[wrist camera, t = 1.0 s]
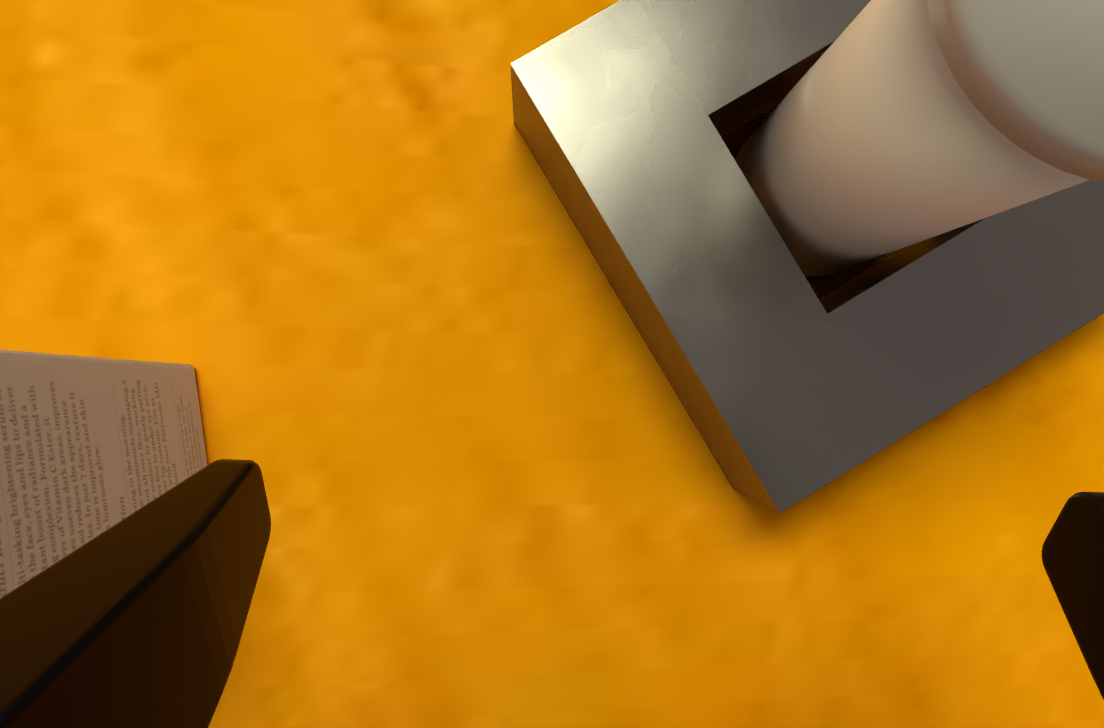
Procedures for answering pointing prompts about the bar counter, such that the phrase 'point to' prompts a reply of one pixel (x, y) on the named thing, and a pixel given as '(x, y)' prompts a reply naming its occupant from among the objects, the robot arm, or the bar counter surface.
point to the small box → (86, 450)
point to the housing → (780, 245)
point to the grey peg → (930, 124)
